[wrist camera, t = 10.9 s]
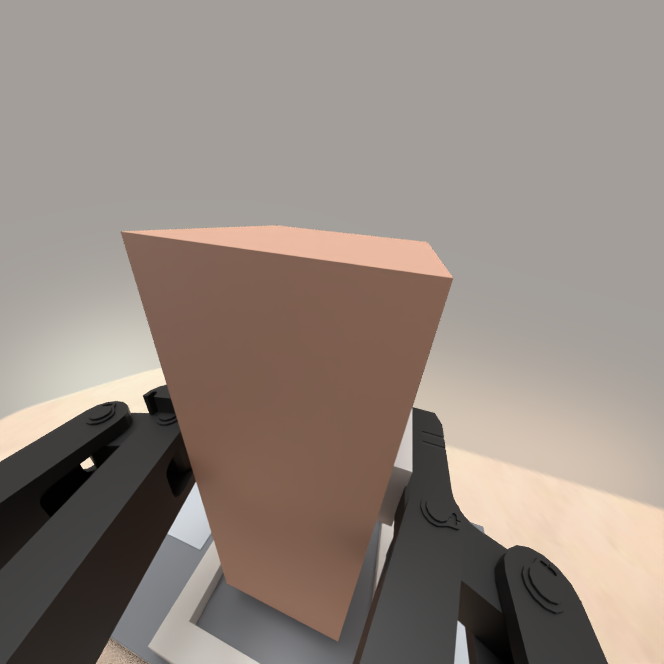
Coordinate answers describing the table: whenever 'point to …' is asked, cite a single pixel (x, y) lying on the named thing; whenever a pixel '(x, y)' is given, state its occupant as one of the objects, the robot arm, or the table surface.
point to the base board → (235, 607)
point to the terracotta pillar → (290, 391)
